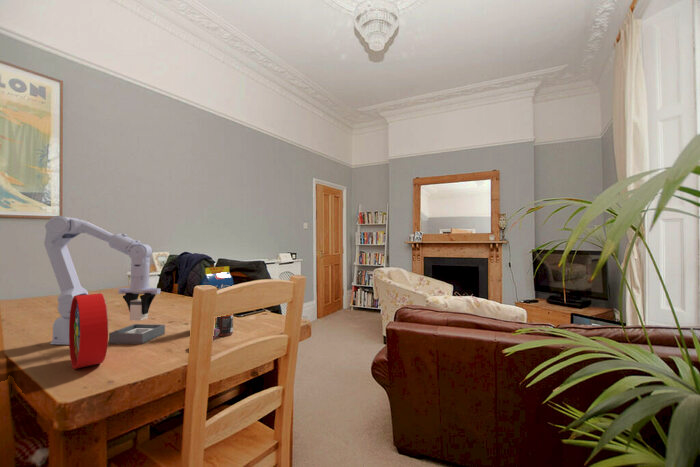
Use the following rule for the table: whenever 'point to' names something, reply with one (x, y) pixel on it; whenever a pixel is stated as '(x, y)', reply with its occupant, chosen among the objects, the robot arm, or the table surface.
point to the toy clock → (88, 330)
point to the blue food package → (217, 278)
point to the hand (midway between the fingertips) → (139, 313)
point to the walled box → (136, 334)
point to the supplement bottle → (225, 325)
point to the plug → (137, 310)
